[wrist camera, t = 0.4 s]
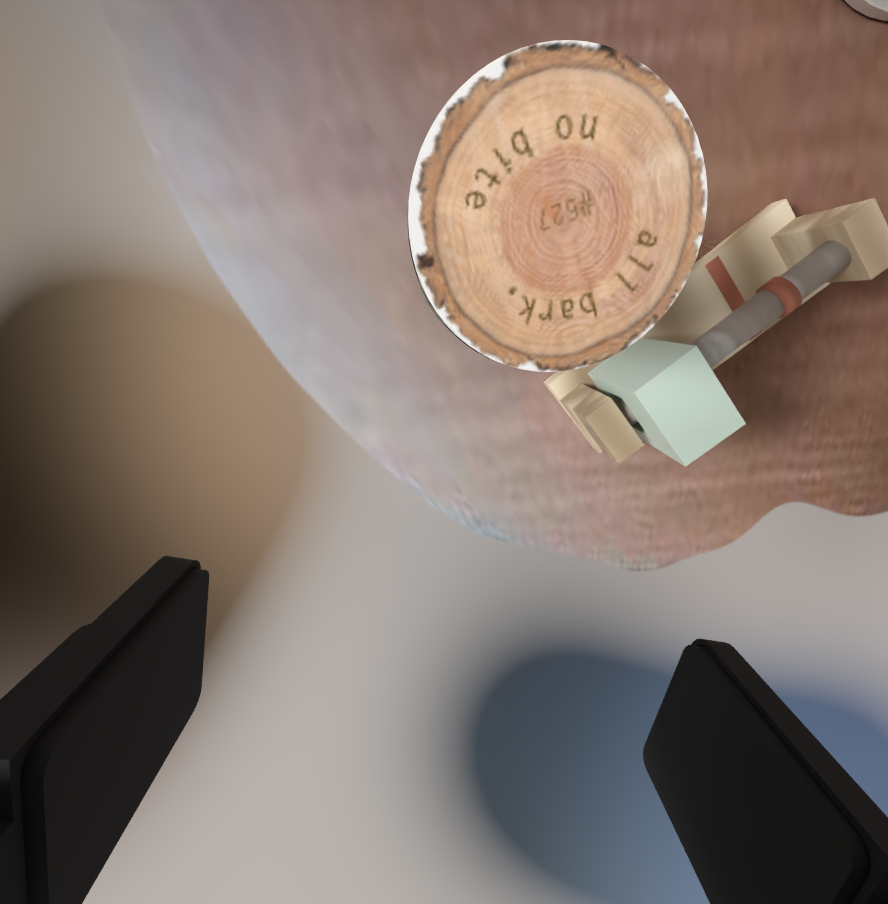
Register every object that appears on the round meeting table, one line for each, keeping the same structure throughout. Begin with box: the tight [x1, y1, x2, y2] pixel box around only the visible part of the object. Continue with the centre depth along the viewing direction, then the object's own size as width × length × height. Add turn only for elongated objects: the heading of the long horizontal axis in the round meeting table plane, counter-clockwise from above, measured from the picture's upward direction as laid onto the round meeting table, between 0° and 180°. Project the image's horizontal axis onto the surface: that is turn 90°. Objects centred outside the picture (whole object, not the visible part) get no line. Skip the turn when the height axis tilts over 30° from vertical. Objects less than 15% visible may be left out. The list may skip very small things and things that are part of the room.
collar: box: [587, 338, 746, 467], centre depth 30 cm, size 4×6×8 cm
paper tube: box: [408, 40, 707, 372], centre depth 23 cm, size 7×7×25 cm
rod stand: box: [544, 198, 888, 463], centre depth 33 cm, size 20×7×8 cm, turn 129°
